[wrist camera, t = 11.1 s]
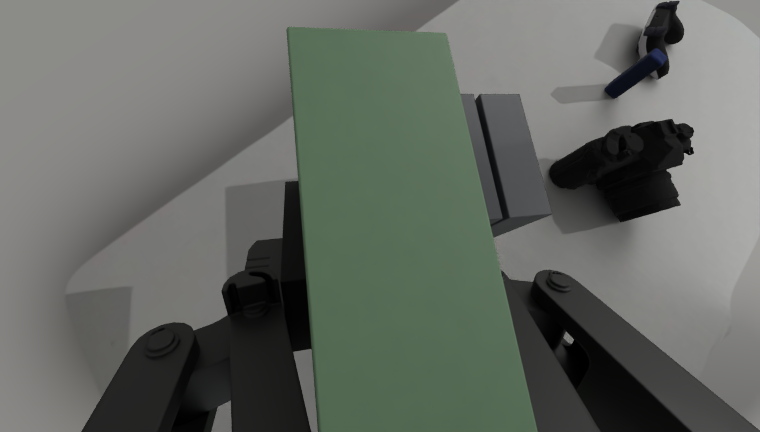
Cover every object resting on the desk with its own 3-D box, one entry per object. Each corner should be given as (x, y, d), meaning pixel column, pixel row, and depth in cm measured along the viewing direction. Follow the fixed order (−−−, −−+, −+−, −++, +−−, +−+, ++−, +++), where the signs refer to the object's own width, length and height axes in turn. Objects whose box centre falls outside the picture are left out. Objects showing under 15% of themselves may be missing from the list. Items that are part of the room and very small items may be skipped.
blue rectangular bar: (602, 89, 46) (649, 54, 39) (609, 81, 46) (657, 45, 40) (613, 100, 46) (663, 66, 39) (620, 92, 46) (670, 57, 40)
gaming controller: (647, 42, 54) (651, -2, 49) (683, 37, 51) (691, -10, 46) (628, 83, 50) (631, 39, 45) (666, 81, 47) (673, 34, 42)
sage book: (322, 399, 16) (337, 675, 4) (306, 210, 19) (285, 25, 7) (389, 385, 17) (574, 583, 5) (365, 205, 20) (447, 31, 7)
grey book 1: (405, 253, 34) (456, 223, 22) (392, 166, 36) (430, 93, 24) (437, 250, 35) (503, 218, 22) (421, 164, 37) (473, 93, 25)
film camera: (570, 235, 38) (643, 215, 30) (540, 161, 40) (600, 122, 32) (664, 210, 42) (753, 186, 33) (633, 144, 44) (709, 104, 36)
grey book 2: (441, 249, 35) (509, 218, 22) (425, 164, 37) (479, 93, 25) (471, 246, 35) (553, 214, 23) (453, 163, 38) (519, 93, 26)
